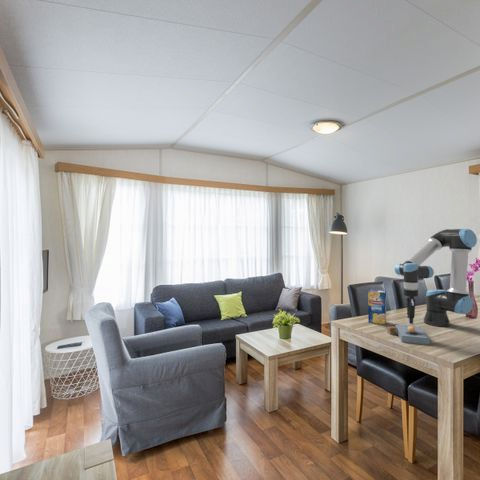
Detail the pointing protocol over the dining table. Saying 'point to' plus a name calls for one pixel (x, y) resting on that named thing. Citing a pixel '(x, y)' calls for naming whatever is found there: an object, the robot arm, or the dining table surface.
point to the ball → (411, 329)
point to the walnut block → (392, 330)
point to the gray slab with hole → (412, 335)
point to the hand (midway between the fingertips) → (410, 328)
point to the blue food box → (377, 306)
